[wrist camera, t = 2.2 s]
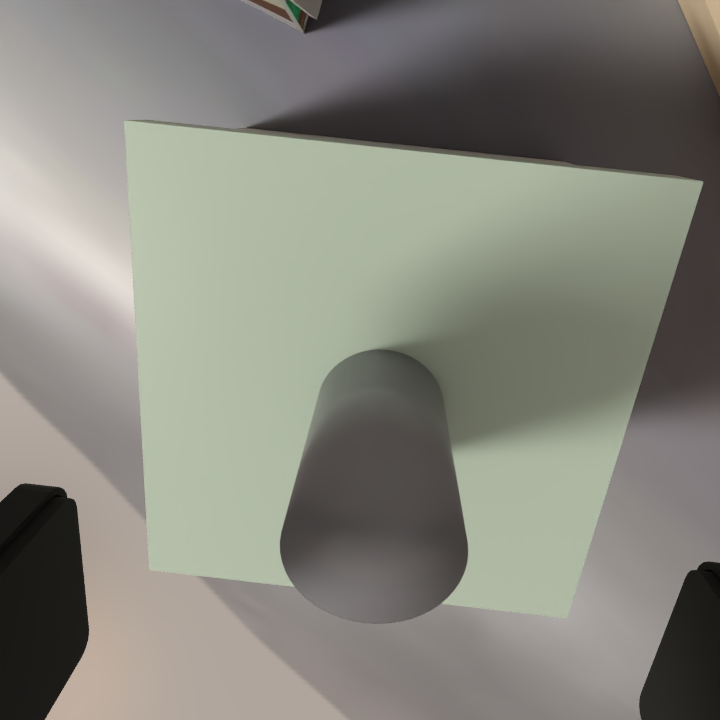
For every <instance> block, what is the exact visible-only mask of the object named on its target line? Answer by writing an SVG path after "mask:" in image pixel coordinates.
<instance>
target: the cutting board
mask: <svg viewBox="0 0 720 720" xmlns="http://www.w3.org/2000/svg"><path fill="white" fill-rule="evenodd" d="M678 2H679V4H680V6H681V9H682V11H683V13H684V16H685V18H686V20H687V23H688V25H689V27H690V30H691V32H692V34H693V37H694V39H695V41H696V44H697V46H698V48H699V51H700V53H701V55H702V58H703V60H704V62H705V65H706V67H707V69H708V72H709V74H710V76H711V79H712V81H713V83H714V86H715V88H716V90H717V93H718V95H719V97H720V0H678Z"/></svg>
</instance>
